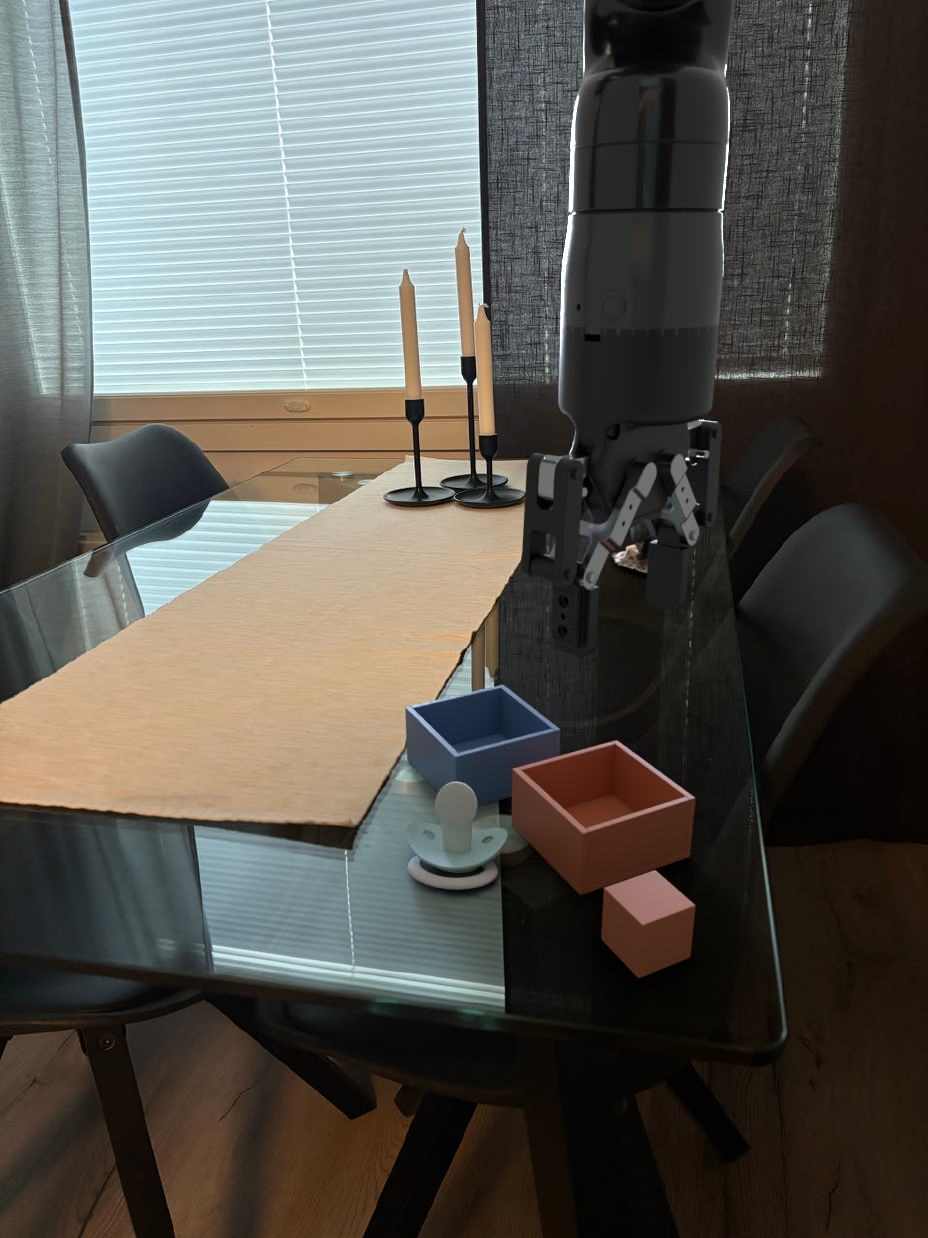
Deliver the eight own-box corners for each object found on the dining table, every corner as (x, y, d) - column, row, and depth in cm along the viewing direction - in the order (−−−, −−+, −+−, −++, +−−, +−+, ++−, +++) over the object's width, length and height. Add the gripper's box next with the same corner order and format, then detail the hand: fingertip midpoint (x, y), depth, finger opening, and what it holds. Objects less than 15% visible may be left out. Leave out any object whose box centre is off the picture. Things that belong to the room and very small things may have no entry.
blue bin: (455, 813, 75) (455, 757, 73) (406, 758, 83) (405, 707, 81) (558, 783, 79) (560, 729, 77) (502, 734, 87) (503, 684, 85)
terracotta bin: (580, 895, 65) (583, 834, 63) (511, 825, 73) (512, 768, 71) (690, 857, 69) (695, 797, 67) (613, 794, 77) (616, 739, 75)
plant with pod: (623, 581, 125) (632, 428, 117) (607, 555, 135) (615, 412, 128) (684, 580, 125) (697, 427, 118) (664, 554, 136) (675, 412, 128)
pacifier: (499, 901, 65) (510, 847, 70) (500, 824, 62) (510, 774, 68) (394, 890, 66) (413, 838, 71) (391, 815, 64) (410, 767, 69)
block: (638, 979, 58) (642, 925, 56) (600, 939, 61) (603, 887, 60) (690, 957, 60) (695, 905, 58) (651, 920, 63) (655, 869, 61)
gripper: (654, 304, 53) (637, 580, 59) (481, 321, 43) (482, 648, 49) (781, 310, 48) (749, 609, 54) (618, 330, 39) (601, 691, 45)
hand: (621, 628), depth 52 cm, fingers open, 8 cm apart
